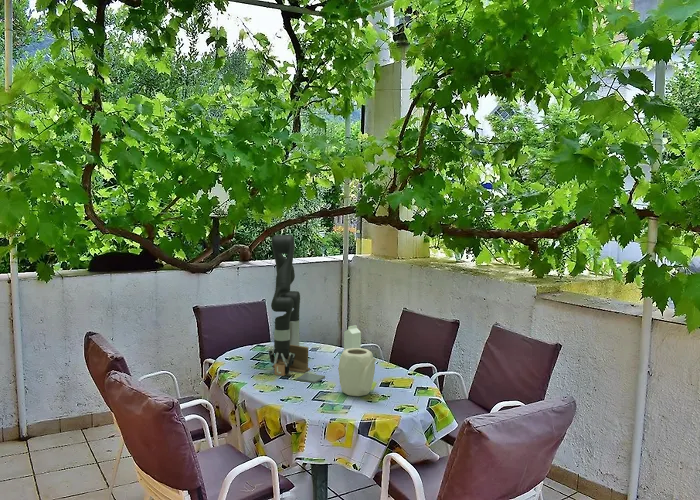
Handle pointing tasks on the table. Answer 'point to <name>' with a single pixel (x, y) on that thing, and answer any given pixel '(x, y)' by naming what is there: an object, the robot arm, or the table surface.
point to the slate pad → (310, 378)
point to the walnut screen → (298, 359)
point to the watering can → (356, 371)
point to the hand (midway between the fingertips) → (281, 372)
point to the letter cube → (280, 368)
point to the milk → (352, 337)
